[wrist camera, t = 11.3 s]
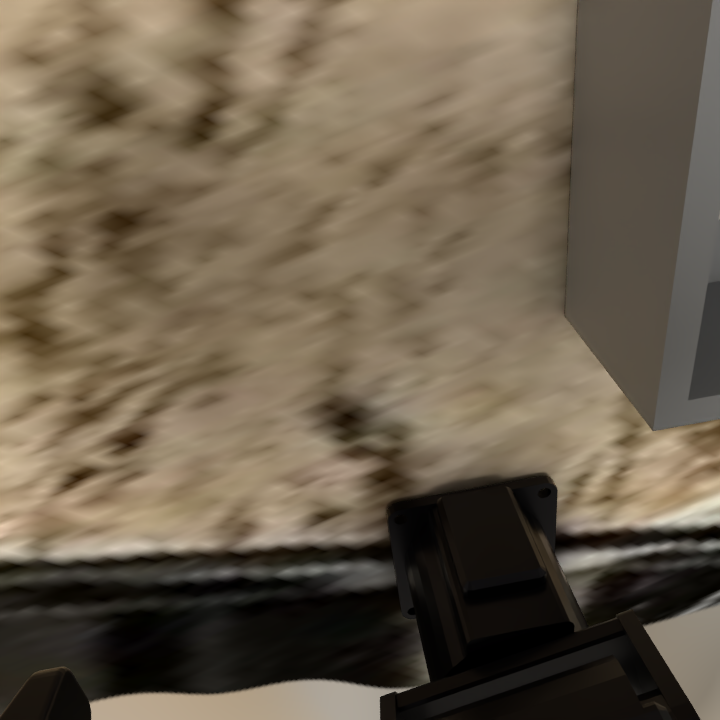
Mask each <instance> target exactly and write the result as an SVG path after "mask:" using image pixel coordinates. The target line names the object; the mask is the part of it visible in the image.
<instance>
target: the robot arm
mask: <svg viewBox="0 0 720 720" xmlns="http://www.w3.org/2000/svg"><path fill="white" fill-rule="evenodd" d="M543 488H545V489H544V490H541V489H543ZM540 490H541V491H540ZM556 512H557V487H556V485H555V483H554V481H553V480H552V479H551V478H550V477H548V476H539V477H533V478H528V479H523V480H517V481H512V482H506V483H501V484H495V485H490V486H485V487H479V488H474V489H468V490H463V491H457V492H452V493H447V494H441V495H436V496H430V497H425V498H419V499H414V500H409V501H403V502H398V503H395V504H392V505H391V506H390V507H389V508H388V509H387V511H386V517H387V523H388V530H389V536H390V543H391V549H392V556H393V562H394V569H395V575H396V582H397V588H398V595H399V601H400V607H401V612H402V615H403V616H404V617H405V618H408V619H415V618H416V619H417V624H418V628H419V633H420V637H421V642H422V646H423V651H424V655H425V660H426V664H427V669H428V673H429V678H430V683H427V684H424V685H421V686H418V687H416V688H413V689H410V690H407V691H404V692H401V693H398V694H397V692H392V693H389V694H387V695H384V696H381V697H380V720H700V718H699V716H698V714H697V713H696V711H695V709H694V708H693V706H692V704H691V703H690V701H689V699H688V698H687V696H686V695H685V693H684V692H683V690H682V688H681V687H680V685H679V683H678V682H677V680H676V679H675V677H674V675H673V674H672V672H671V671H670V669H669V667H668V666H667V664H666V663H665V661H664V659H663V658H662V656H661V655H660V653H659V651H658V650H657V648H656V647H655V645H654V643H653V642H652V640H651V639H650V637H649V635H648V634H647V632H646V630H645V629H644V627H643V626H642V624H641V622H640V621H639V619H638V618H637V616H636V614H635V613H634V611H633V610H632V609H631V610H628V611H625V612H622V613H619V614H616V617H617V618H614V619H611V620H608V621H605V622H603V623H600V624H597V625H594V626H591V627H588V625H587V622H586V620H585V618H584V616H583V614H582V612H581V610H580V607H579V605H578V603H577V601H576V599H575V597H574V594H573V592H572V590H571V588H570V586H569V584H568V582H567V579H566V577H565V575H564V573H563V571H562V569H561V566H560V564H559V562H558V560H557V558H556V556H555V536H556ZM398 515H403V516H400V517H396V516H398ZM0 720H91V709H90V704H89V701H88V699H87V697H86V695H85V694H84V692H83V690H82V688H81V687H80V685H79V683H78V682H77V680H76V678H75V677H74V675H73V673H72V672H71V670H70V669H68V668H66V667H58V668H53V669H47V670H41V671H38V672H36V673H34V674H33V675H32V676H30V677H29V678H28V680H27V681H26V682H25V684H24V685H23V686H22V688H21V689H20V690H19V692H18V693H17V694H16V696H15V697H14V698H13V700H12V701H11V702H10V704H9V705H8V706H7V708H6V709H5V710H4V712H3V713H2V714H1V716H0Z"/></svg>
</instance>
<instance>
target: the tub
mask: <svg viewBox="0 0 720 720" xmlns="http://www.w3.org/2000/svg"><path fill="white" fill-rule="evenodd" d="M565 317H566V318H567V320H568V321H569V322H570V324H571V325H572V326H573V328H574V329H575V330H576V331H577V333H578V334H579V335H580V337H581V338H582V339H583V341H584V342H585V343H586V344H587V346H588V347H589V348H590V350H591V351H592V352H593V354H594V355H595V356H596V358H597V359H598V360H599V361H600V363H601V364H602V365H603V367H604V368H605V369H606V371H607V372H608V373H609V374H610V376H611V377H612V378H613V380H614V381H615V382H616V384H617V385H618V386H619V388H620V389H621V390H622V391H623V393H624V394H625V395H626V397H627V398H628V399H629V401H630V402H631V403H632V404H633V406H634V407H635V408H636V410H637V411H638V412H639V414H640V415H641V416H642V418H643V419H644V420H645V421H646V423H647V424H648V425H649V427H650V428H651V429H652V431H657V430H662V429H667V428H673V427H678V426H684V425H689V424H695V423H700V422H706V421H711V420H717V419H720V0H578V12H577V36H576V60H575V84H574V108H573V132H572V156H571V180H570V204H569V228H568V252H567V276H566V300H565Z"/></svg>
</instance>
